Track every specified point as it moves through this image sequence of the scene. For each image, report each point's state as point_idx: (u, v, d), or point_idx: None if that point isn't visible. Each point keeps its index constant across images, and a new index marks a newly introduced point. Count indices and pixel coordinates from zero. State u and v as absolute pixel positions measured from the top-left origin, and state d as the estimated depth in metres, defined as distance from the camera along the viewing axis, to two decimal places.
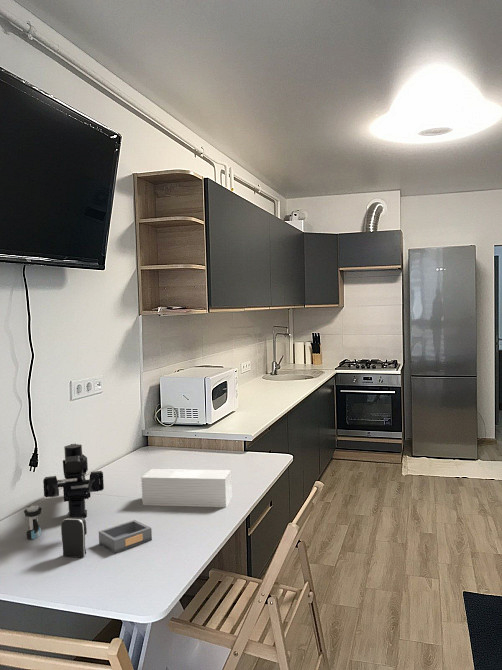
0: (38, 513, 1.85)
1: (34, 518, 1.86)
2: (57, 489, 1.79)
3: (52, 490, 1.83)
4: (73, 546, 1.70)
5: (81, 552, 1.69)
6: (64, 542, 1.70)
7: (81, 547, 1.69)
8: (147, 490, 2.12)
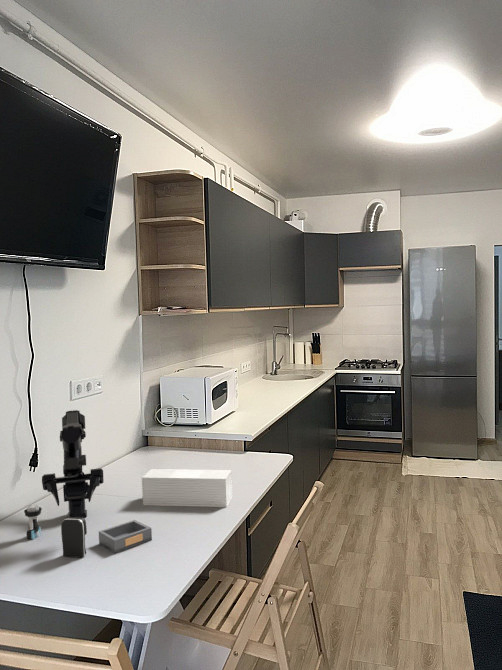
0: (38, 513, 1.85)
1: (34, 518, 1.86)
2: (57, 499, 1.77)
3: (51, 488, 1.81)
4: (73, 546, 1.70)
5: (81, 552, 1.69)
6: (64, 542, 1.70)
7: (81, 547, 1.69)
8: (147, 490, 2.12)
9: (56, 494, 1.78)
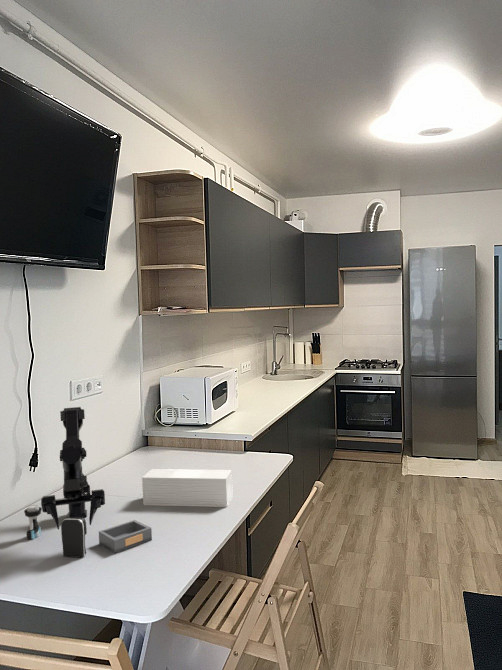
0: (38, 513, 1.85)
1: (34, 518, 1.86)
2: (57, 522, 1.71)
3: (51, 510, 1.75)
4: (73, 546, 1.70)
5: (81, 552, 1.69)
6: (64, 542, 1.70)
7: (81, 547, 1.69)
8: (148, 490, 2.12)
9: (56, 517, 1.72)
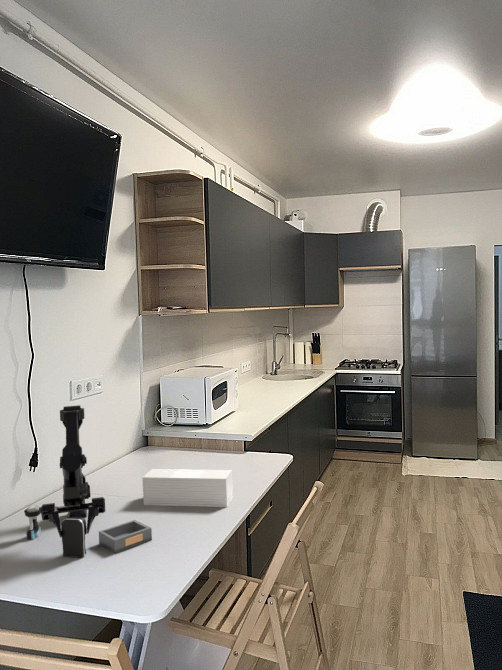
0: (38, 513, 1.85)
1: (34, 518, 1.86)
2: (59, 530, 1.69)
3: (53, 518, 1.73)
4: (73, 546, 1.70)
5: (81, 552, 1.69)
6: (64, 542, 1.70)
7: (81, 547, 1.69)
8: (148, 490, 2.12)
9: (58, 525, 1.70)
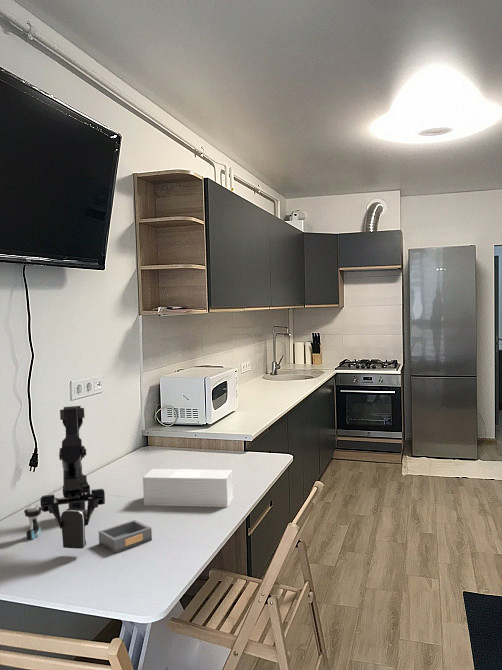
0: (38, 513, 1.85)
1: (34, 518, 1.86)
2: (59, 521, 1.69)
3: None
4: (73, 537, 1.70)
5: (81, 543, 1.69)
6: (63, 534, 1.70)
7: (81, 538, 1.69)
8: (148, 490, 2.12)
9: (58, 516, 1.70)
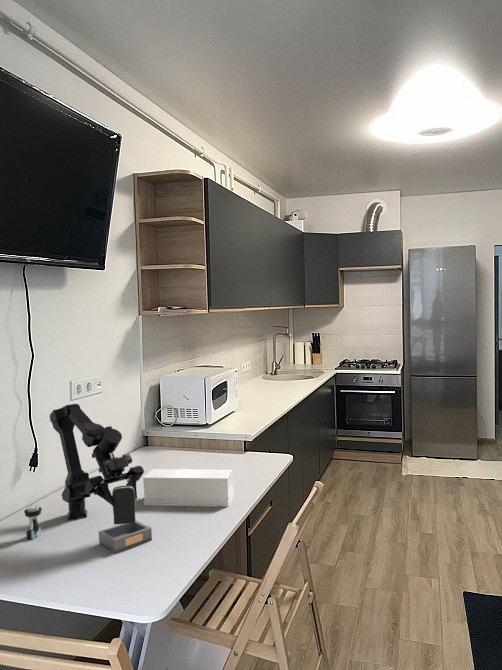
0: (38, 513, 1.85)
1: (34, 518, 1.86)
2: (112, 499, 1.76)
3: (100, 490, 1.78)
4: (125, 513, 1.78)
5: (134, 517, 1.78)
6: (115, 511, 1.77)
7: (134, 512, 1.78)
8: (149, 490, 2.12)
9: (110, 495, 1.76)
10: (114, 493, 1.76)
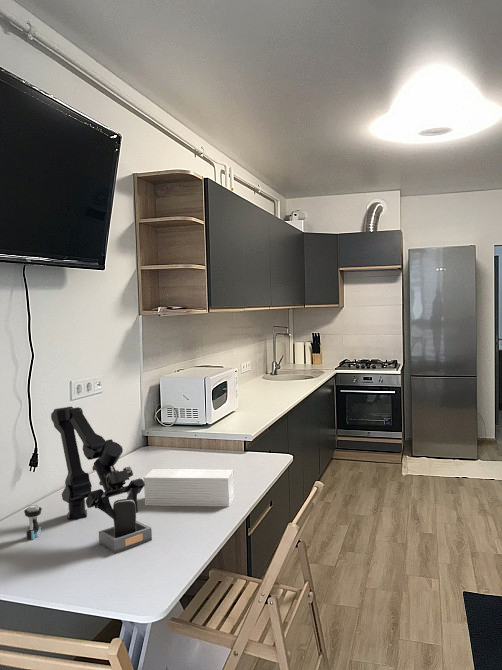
0: (38, 513, 1.85)
1: (34, 518, 1.86)
2: (113, 513, 1.76)
3: (100, 504, 1.78)
4: (126, 526, 1.78)
5: (134, 530, 1.79)
6: (116, 524, 1.77)
7: (134, 526, 1.79)
8: (149, 490, 2.12)
9: (111, 508, 1.76)
10: (115, 507, 1.77)
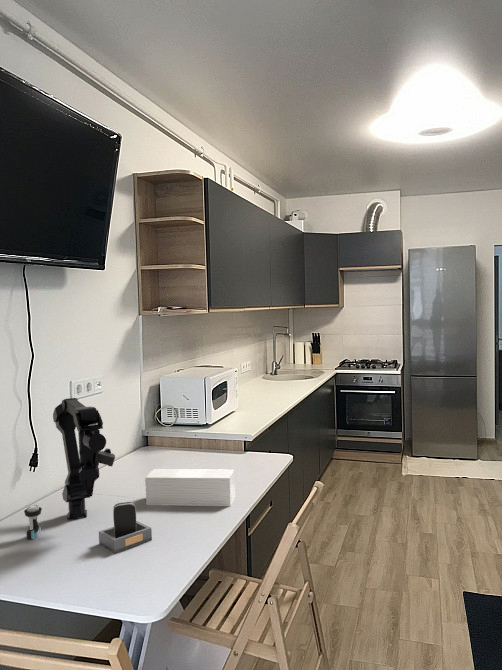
0: (38, 513, 1.85)
1: (34, 518, 1.86)
2: (92, 491, 1.85)
3: None
4: (127, 529, 1.78)
5: None
6: (117, 528, 1.77)
7: (135, 529, 1.79)
8: (151, 490, 2.12)
9: (93, 486, 1.85)
10: (115, 510, 1.77)
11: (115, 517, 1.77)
